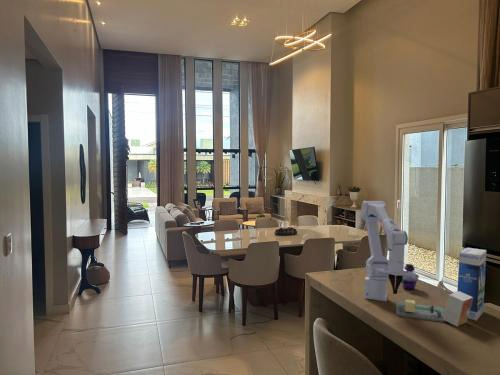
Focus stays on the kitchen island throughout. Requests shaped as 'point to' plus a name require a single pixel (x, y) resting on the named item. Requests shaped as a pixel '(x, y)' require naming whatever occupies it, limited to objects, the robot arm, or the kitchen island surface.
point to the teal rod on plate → (421, 312)
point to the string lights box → (473, 278)
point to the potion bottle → (407, 281)
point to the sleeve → (409, 305)
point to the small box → (458, 308)
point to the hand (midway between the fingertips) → (394, 293)
